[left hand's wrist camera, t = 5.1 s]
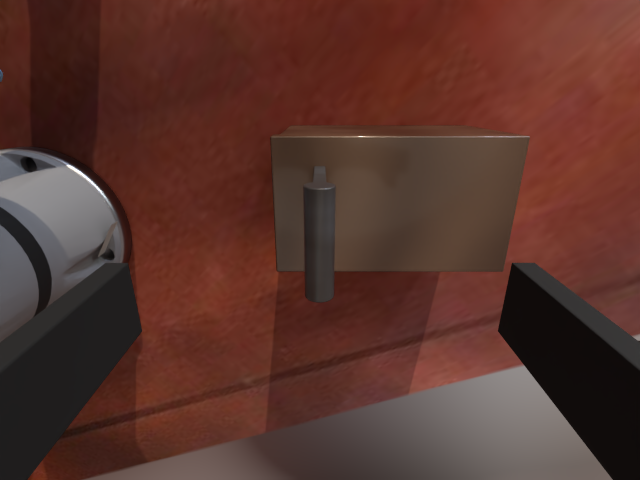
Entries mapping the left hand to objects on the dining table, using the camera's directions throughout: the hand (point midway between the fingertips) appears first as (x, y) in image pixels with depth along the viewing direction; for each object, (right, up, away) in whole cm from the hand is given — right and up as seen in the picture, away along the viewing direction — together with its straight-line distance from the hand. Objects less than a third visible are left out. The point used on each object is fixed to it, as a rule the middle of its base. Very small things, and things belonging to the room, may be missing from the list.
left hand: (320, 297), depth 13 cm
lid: (+5, +4, +12) cm, 14 cm away
